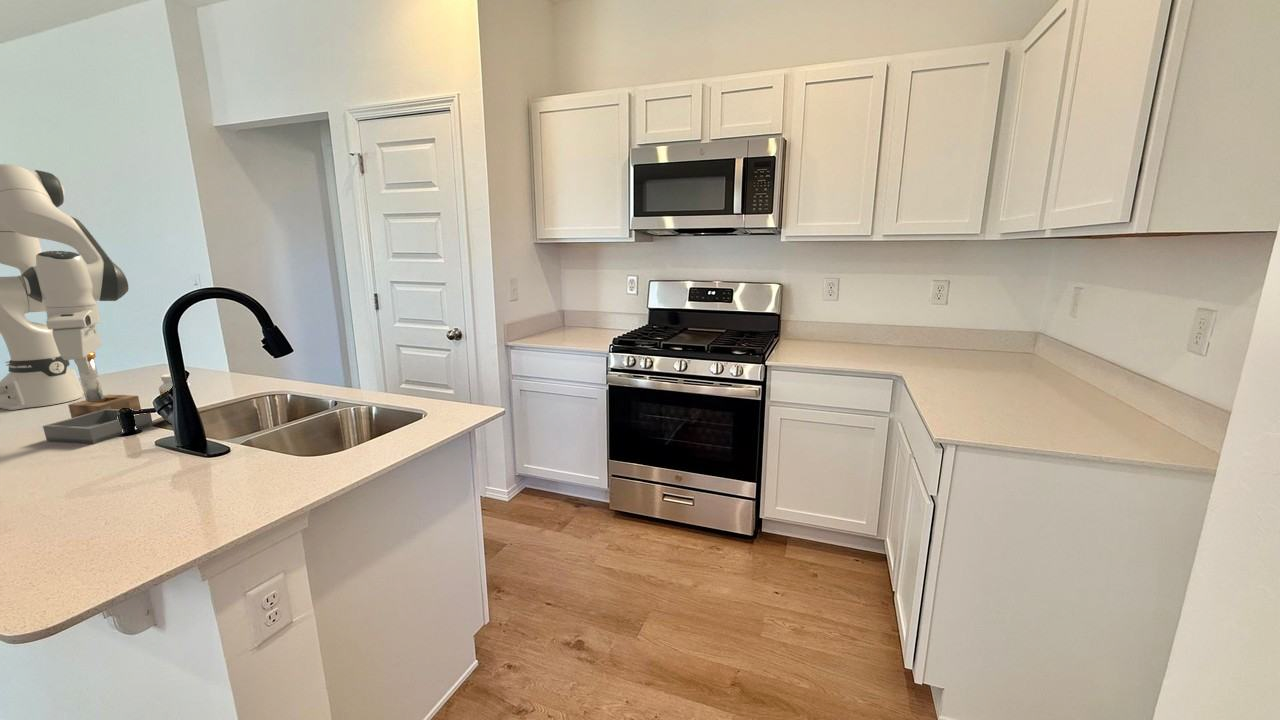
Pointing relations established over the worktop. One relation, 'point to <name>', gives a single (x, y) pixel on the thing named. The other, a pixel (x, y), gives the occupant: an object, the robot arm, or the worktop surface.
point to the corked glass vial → (91, 381)
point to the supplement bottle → (167, 384)
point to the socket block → (104, 404)
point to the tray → (92, 427)
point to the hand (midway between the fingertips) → (87, 371)
